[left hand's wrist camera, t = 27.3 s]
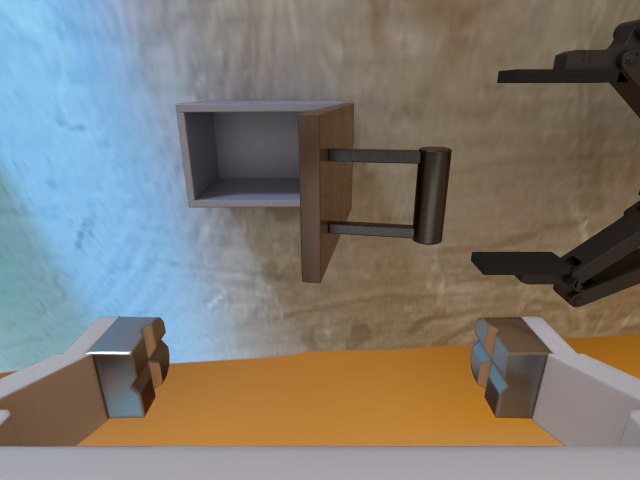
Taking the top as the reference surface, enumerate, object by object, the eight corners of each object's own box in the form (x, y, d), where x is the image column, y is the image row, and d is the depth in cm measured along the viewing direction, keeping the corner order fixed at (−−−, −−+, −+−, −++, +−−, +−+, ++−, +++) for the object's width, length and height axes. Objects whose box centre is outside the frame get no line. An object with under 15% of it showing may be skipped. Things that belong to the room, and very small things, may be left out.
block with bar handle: (301, 282, 24) (443, 294, 23) (297, 113, 21) (464, 114, 19) (339, 208, 39) (426, 212, 38) (340, 103, 36) (436, 103, 34)
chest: (215, 183, 50) (188, 207, 40) (207, 100, 47) (175, 104, 36) (339, 182, 50) (345, 206, 40) (340, 99, 47) (347, 103, 36)
